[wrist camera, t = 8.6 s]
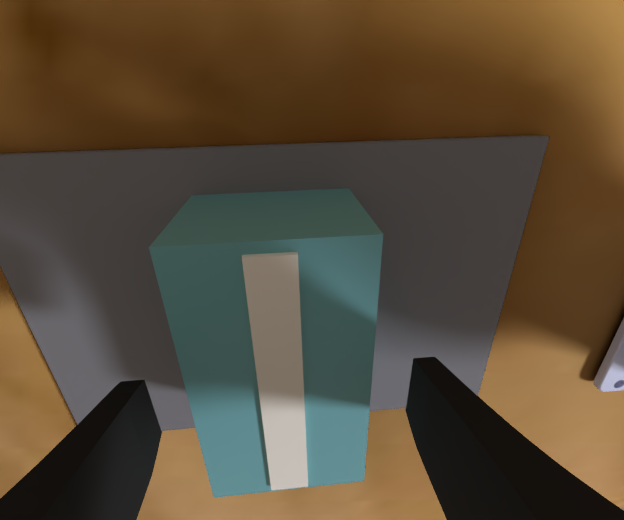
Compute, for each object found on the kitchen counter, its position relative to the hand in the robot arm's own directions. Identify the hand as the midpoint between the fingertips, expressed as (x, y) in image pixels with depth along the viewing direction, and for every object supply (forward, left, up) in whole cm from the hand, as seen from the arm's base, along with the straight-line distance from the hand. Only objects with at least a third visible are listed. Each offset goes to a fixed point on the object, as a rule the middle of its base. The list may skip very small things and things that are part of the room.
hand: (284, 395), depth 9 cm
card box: (0, 0, -4) cm, 4 cm away
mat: (0, 0, -4) cm, 4 cm away
